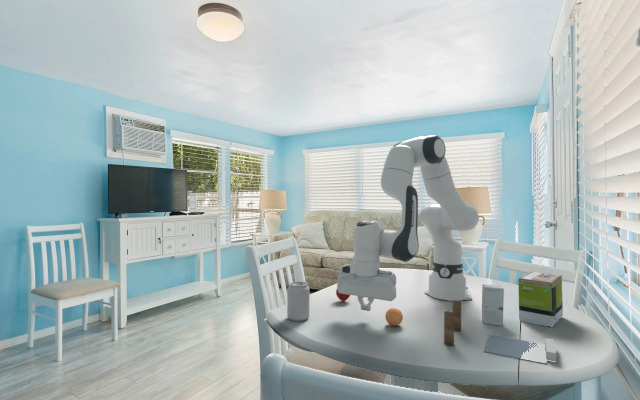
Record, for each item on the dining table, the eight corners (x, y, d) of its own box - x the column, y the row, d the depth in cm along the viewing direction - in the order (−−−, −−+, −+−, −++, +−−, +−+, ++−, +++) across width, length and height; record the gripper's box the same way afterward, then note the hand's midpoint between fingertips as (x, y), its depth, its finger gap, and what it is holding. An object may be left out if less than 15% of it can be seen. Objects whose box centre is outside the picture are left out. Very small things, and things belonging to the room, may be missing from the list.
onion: (349, 304, 136) (349, 283, 136) (335, 303, 137) (335, 282, 137) (351, 300, 141) (351, 280, 141) (337, 299, 142) (337, 279, 142)
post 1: (445, 341, 100) (445, 309, 100) (454, 343, 98) (454, 311, 98) (443, 344, 97) (443, 312, 97) (453, 346, 96) (453, 313, 96)
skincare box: (483, 324, 114) (483, 286, 114) (481, 319, 118) (481, 283, 119) (504, 326, 112) (504, 288, 112) (501, 321, 117) (501, 285, 117)
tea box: (530, 311, 128) (530, 270, 128) (563, 317, 121) (563, 275, 121) (517, 320, 118) (518, 276, 118) (552, 328, 111) (553, 281, 111)
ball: (388, 321, 116) (388, 304, 116) (405, 324, 113) (405, 307, 113) (382, 326, 111) (382, 309, 111) (399, 329, 109) (399, 311, 109)
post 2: (453, 327, 110) (453, 299, 110) (461, 329, 109) (461, 300, 109) (451, 330, 108) (451, 301, 108) (460, 332, 107) (460, 302, 107)
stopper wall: (544, 347, 96) (544, 338, 96) (553, 348, 95) (553, 339, 95) (546, 361, 87) (546, 351, 87) (556, 363, 86) (556, 353, 86)
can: (312, 316, 121) (312, 281, 121) (304, 323, 114) (304, 286, 114) (292, 313, 123) (292, 279, 123) (283, 320, 116) (283, 284, 116)
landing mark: (488, 334, 105) (488, 334, 105) (544, 344, 98) (544, 344, 98) (484, 351, 93) (484, 351, 93) (547, 364, 86) (547, 363, 86)
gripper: (399, 270, 115) (398, 313, 114) (343, 264, 125) (343, 303, 125) (393, 273, 109) (392, 318, 109) (335, 266, 120) (334, 307, 119)
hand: (365, 310), depth 117 cm, fingers closed
